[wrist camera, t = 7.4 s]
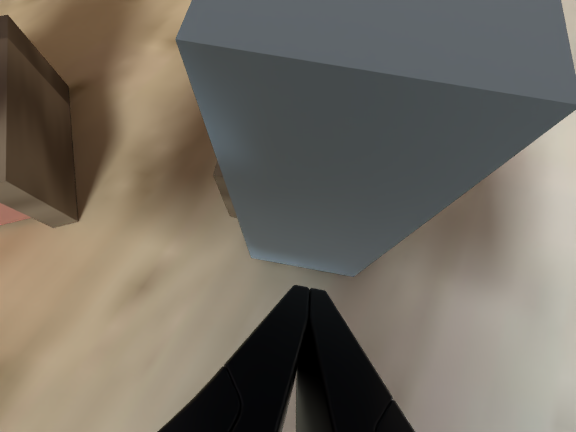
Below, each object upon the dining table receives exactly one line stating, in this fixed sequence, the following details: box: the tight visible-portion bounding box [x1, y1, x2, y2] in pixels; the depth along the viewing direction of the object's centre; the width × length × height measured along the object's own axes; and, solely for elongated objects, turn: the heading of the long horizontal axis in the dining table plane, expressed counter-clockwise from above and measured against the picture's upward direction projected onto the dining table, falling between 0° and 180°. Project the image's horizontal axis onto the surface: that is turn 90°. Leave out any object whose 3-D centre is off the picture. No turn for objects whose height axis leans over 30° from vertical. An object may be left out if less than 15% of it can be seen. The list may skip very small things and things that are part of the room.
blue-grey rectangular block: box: [175, 0, 576, 277], centre depth 10 cm, size 4×5×12 cm
